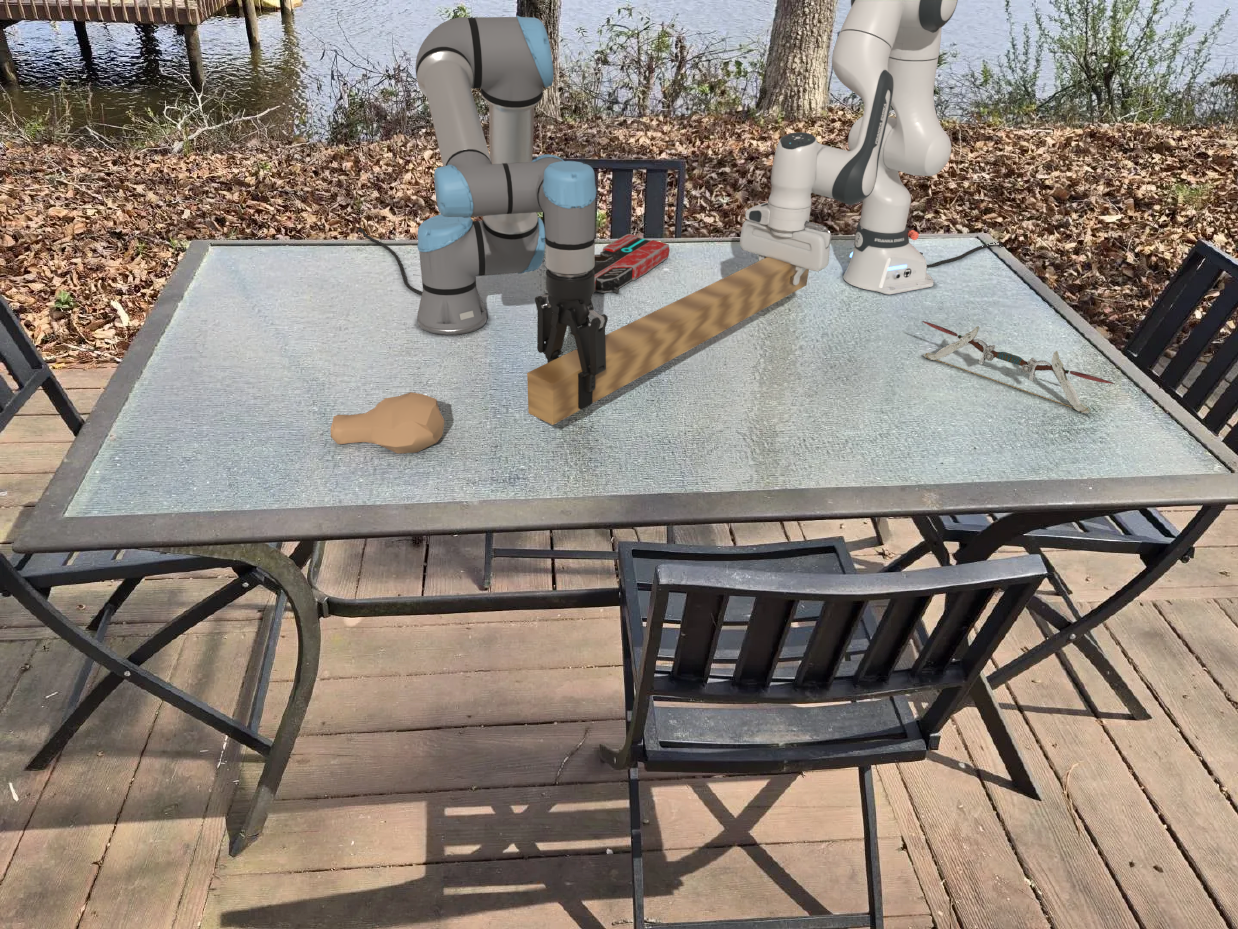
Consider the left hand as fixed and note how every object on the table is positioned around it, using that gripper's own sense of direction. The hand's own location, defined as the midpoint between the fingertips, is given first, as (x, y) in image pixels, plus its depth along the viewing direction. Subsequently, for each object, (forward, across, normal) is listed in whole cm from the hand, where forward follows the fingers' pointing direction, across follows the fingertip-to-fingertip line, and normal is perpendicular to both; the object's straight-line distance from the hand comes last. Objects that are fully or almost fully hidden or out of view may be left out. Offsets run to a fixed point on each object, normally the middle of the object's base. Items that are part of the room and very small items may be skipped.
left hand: (571, 399), depth 148 cm
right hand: (-1, 0, -67) cm, 67 cm away
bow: (+11, -48, -78) cm, 92 cm away
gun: (+11, +50, -71) cm, 87 cm away
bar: (+1, 0, -33) cm, 33 cm away
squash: (+11, +26, +19) cm, 34 cm away
